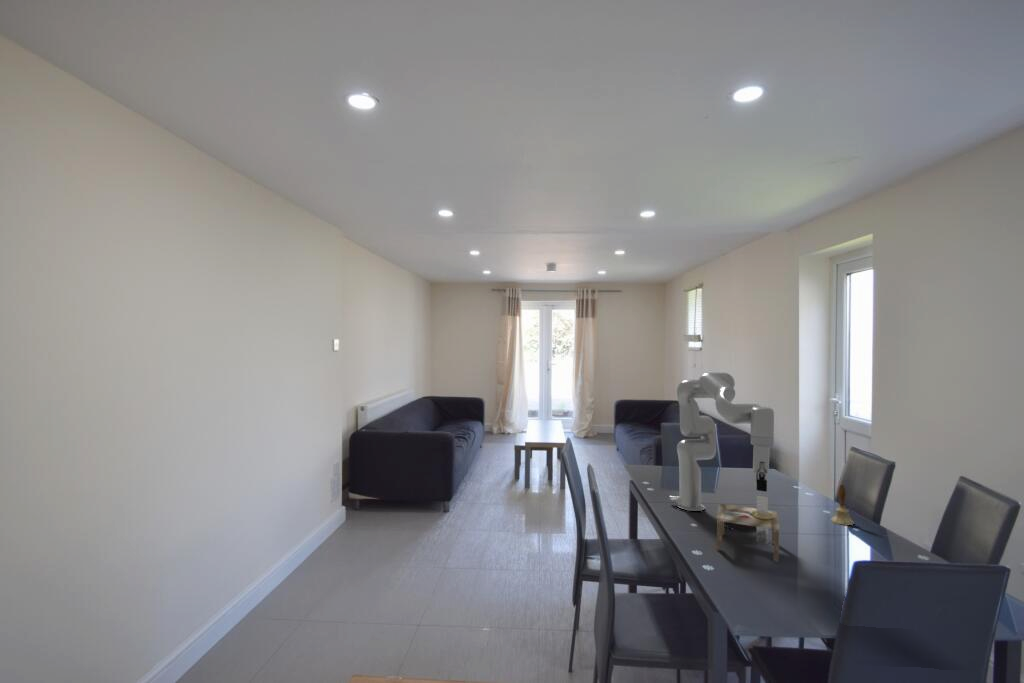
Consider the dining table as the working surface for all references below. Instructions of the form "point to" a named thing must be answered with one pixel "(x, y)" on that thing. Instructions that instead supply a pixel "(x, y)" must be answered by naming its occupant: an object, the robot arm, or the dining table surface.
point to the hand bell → (842, 510)
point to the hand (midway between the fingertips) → (761, 487)
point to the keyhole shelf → (747, 521)
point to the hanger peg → (762, 514)
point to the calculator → (739, 526)
